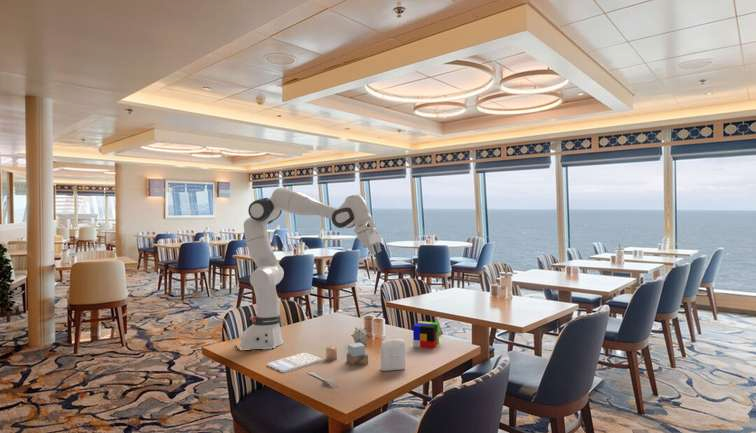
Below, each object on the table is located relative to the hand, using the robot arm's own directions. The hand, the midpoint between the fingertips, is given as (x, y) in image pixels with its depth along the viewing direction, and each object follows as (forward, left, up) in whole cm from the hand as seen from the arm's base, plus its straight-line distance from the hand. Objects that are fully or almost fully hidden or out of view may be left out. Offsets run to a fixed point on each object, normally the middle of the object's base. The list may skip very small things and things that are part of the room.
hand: (376, 253), depth 206 cm
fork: (-36, -25, -46) cm, 64 cm away
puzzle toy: (+23, -6, -45) cm, 51 cm away
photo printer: (-7, -28, -45) cm, 53 cm away
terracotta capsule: (-25, -4, -45) cm, 52 cm away
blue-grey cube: (-17, -14, -41) cm, 47 cm away
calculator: (-41, -2, -46) cm, 61 cm away
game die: (-5, +10, -45) cm, 47 cm away
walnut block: (-17, -14, -45) cm, 50 cm away
